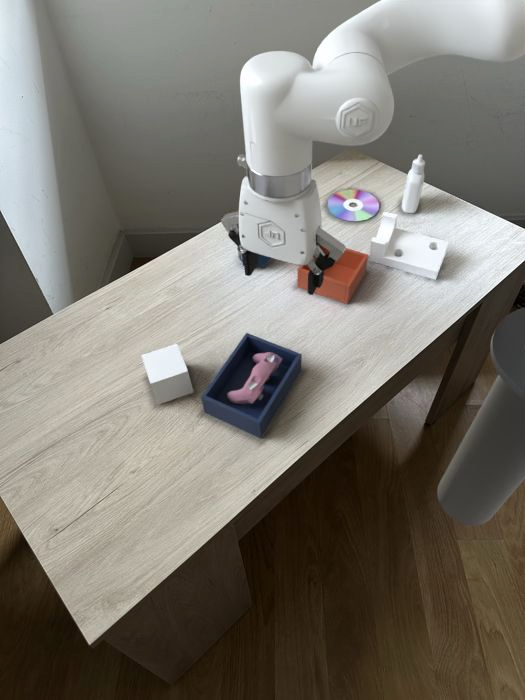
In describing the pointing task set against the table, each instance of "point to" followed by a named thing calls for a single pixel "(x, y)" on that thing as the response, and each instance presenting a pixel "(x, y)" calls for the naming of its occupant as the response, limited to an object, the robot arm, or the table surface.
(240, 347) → the navy bin
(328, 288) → the terracotta bin
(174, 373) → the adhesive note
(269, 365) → the video game controller
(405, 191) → the eye dropper bottle
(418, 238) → the bracket
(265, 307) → the table surface
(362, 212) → the cd
